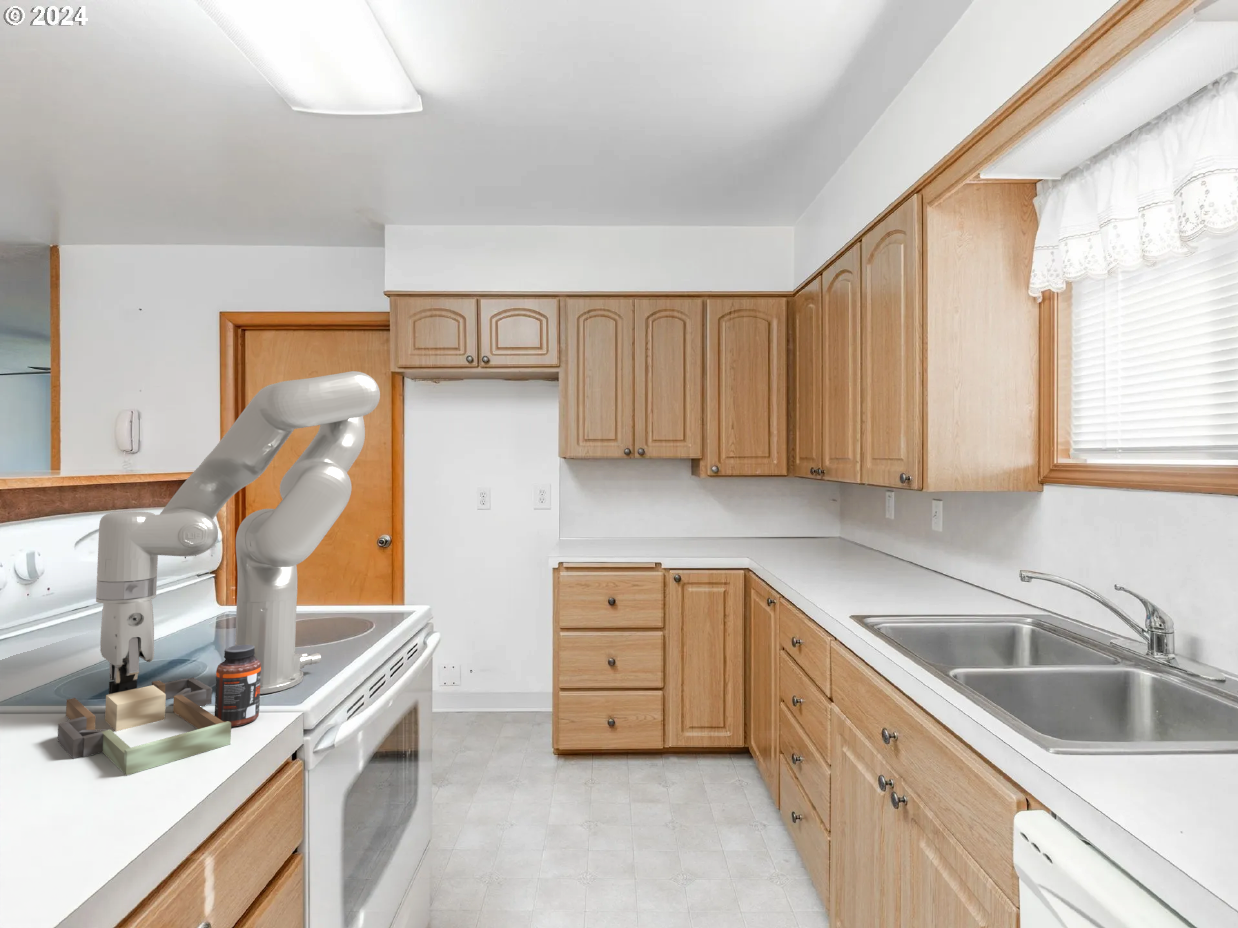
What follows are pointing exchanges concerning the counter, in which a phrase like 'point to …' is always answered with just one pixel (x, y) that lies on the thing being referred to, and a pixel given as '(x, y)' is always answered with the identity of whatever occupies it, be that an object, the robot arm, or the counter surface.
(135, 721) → the block
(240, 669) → the supplement bottle
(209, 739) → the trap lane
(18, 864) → the counter surface
